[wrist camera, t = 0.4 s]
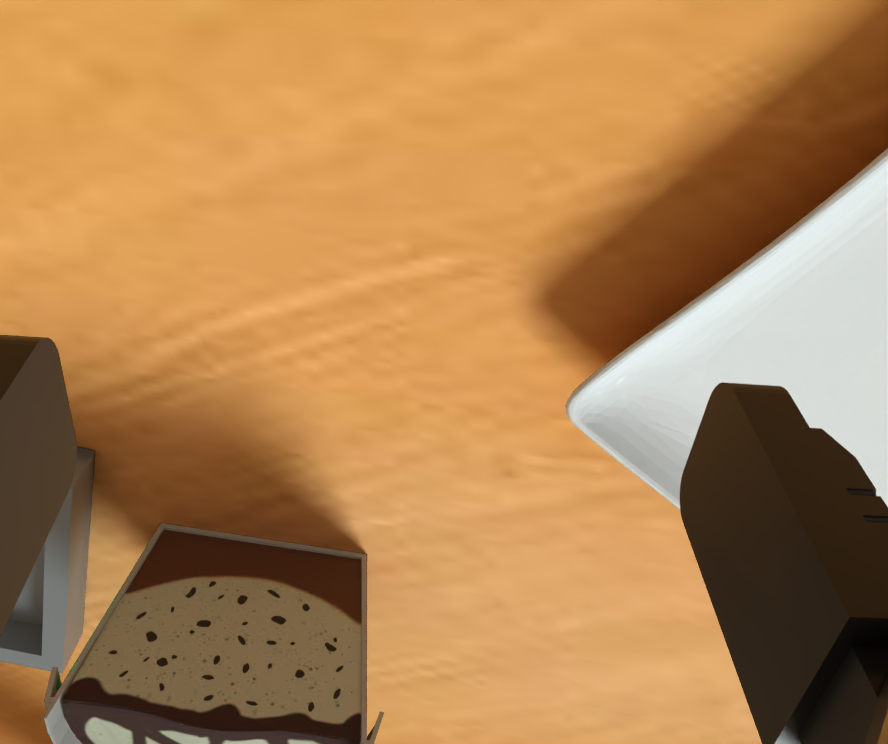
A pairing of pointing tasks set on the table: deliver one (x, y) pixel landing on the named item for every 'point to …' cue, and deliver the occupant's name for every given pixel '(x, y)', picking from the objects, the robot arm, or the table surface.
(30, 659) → the tray
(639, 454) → the salad plate
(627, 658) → the table surface
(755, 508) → the robot arm
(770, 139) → the table surface
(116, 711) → the food container
